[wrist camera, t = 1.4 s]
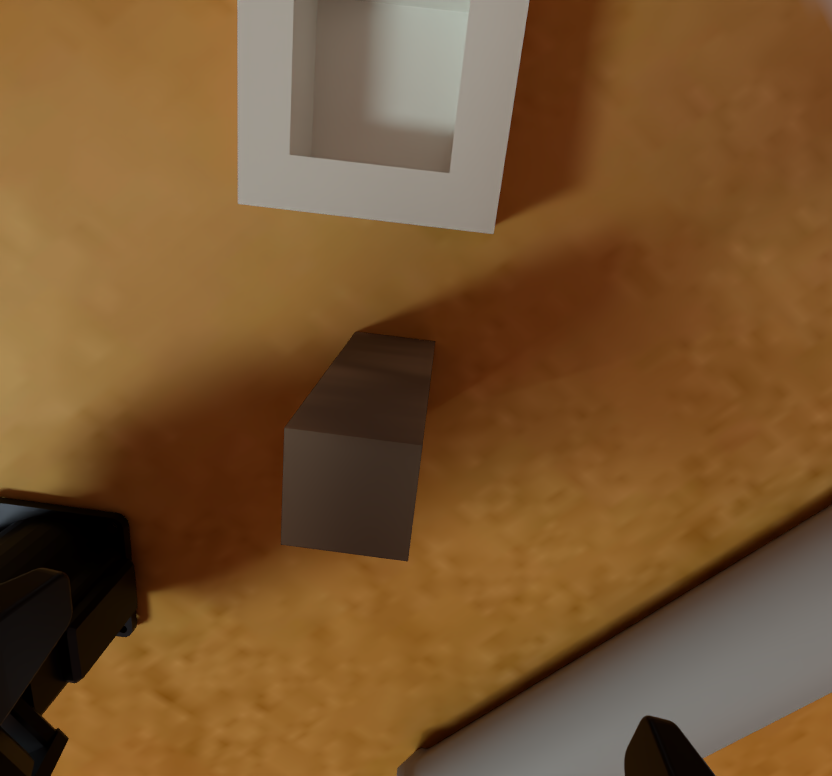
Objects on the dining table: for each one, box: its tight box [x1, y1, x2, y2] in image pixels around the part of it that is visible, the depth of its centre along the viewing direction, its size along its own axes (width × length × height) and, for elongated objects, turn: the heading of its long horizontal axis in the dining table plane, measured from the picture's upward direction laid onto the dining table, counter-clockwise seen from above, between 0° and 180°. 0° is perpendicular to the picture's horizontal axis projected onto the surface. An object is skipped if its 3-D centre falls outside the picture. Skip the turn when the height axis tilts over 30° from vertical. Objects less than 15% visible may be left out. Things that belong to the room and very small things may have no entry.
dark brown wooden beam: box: [281, 332, 435, 561], centre depth 16 cm, size 3×3×9 cm
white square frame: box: [238, 0, 529, 234], centre depth 15 cm, size 8×8×4 cm
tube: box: [397, 505, 832, 776], centre depth 22 cm, size 5×5×25 cm
